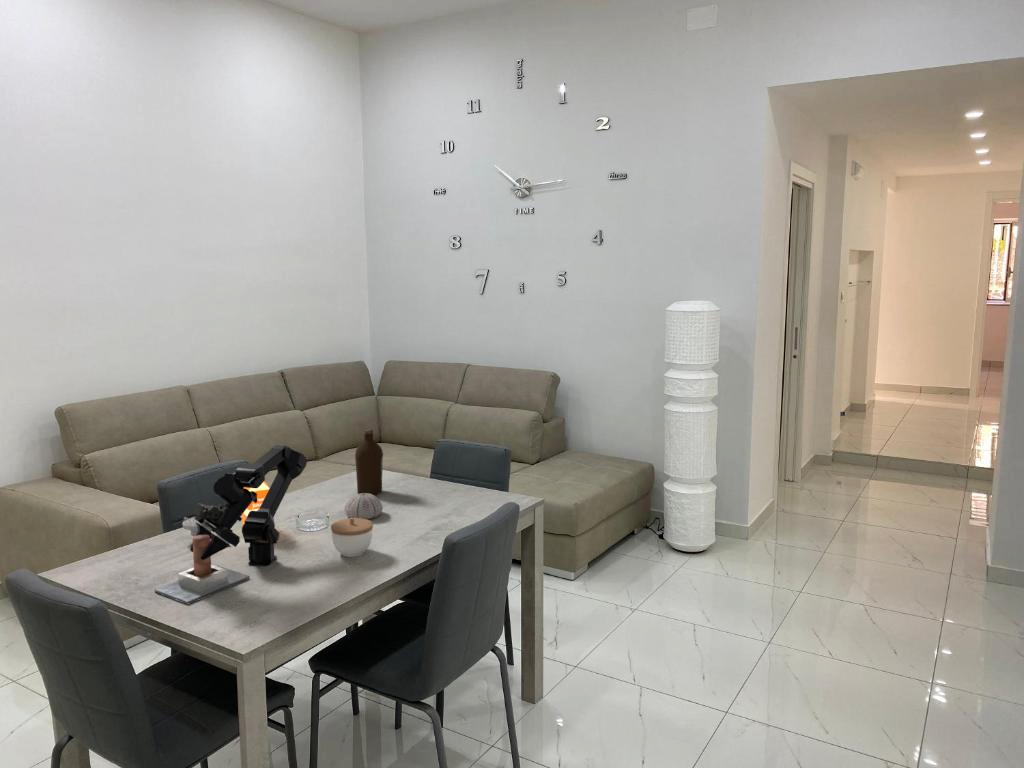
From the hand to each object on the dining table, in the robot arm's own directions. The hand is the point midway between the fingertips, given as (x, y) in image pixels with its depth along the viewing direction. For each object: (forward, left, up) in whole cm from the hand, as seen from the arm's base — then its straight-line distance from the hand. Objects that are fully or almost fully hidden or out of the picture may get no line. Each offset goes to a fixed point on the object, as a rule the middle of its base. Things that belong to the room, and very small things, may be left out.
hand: (196, 555), depth 210 cm
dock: (-1, -1, -9) cm, 9 cm away
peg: (-1, -1, -8) cm, 8 cm away
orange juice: (+1, -46, -9) cm, 47 cm away
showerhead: (+16, -35, -9) cm, 40 cm away
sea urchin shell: (-31, -63, -9) cm, 71 cm away
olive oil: (-27, -90, -9) cm, 94 cm away
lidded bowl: (-36, -28, -9) cm, 47 cm away
